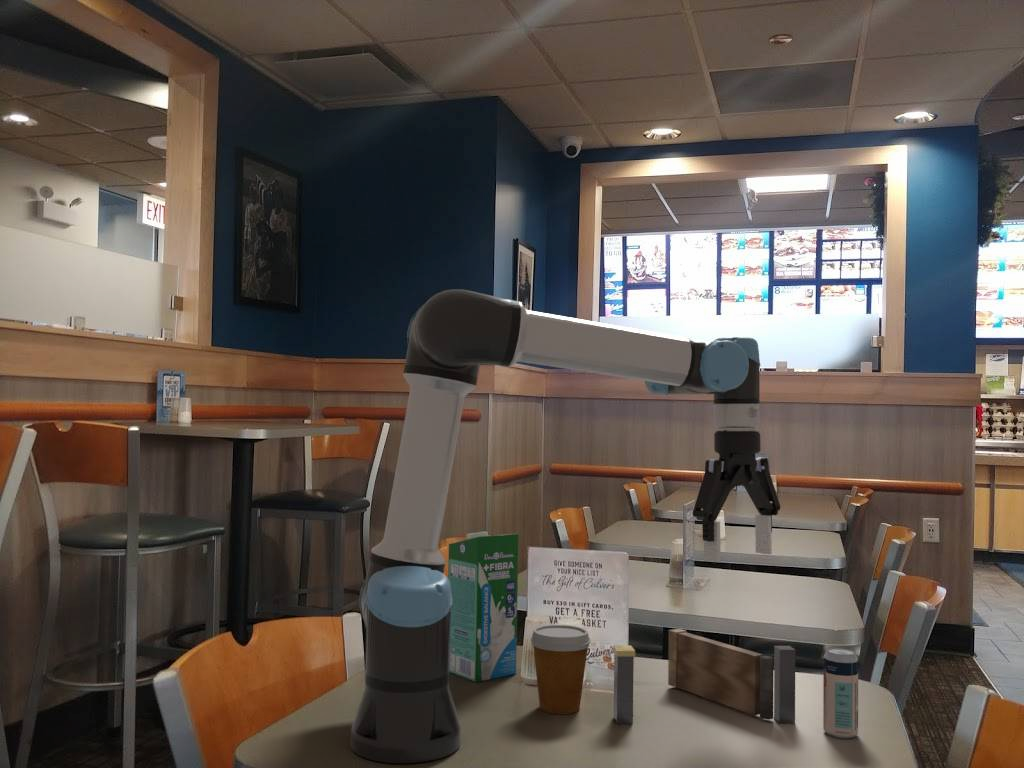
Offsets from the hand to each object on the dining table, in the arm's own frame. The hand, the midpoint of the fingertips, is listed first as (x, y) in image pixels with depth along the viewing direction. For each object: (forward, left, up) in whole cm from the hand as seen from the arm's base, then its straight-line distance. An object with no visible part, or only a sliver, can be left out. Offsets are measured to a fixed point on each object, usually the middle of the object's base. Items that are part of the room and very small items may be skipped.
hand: (738, 557), depth 150 cm
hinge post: (+4, -12, -23) cm, 26 cm away
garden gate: (-4, -4, -22) cm, 23 cm away
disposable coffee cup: (-30, -6, -23) cm, 39 cm away
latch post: (-21, -12, -23) cm, 34 cm away
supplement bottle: (+10, -18, -23) cm, 31 cm away
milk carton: (-42, +14, -23) cm, 50 cm away
